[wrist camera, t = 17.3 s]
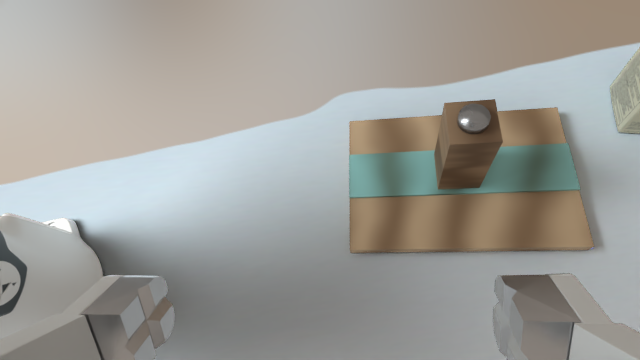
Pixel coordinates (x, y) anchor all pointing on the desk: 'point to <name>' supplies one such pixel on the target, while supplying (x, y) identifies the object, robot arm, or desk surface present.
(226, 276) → the desk surface
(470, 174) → the walnut post
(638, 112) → the skincare box
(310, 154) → the desk surface
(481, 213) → the tan flat board
